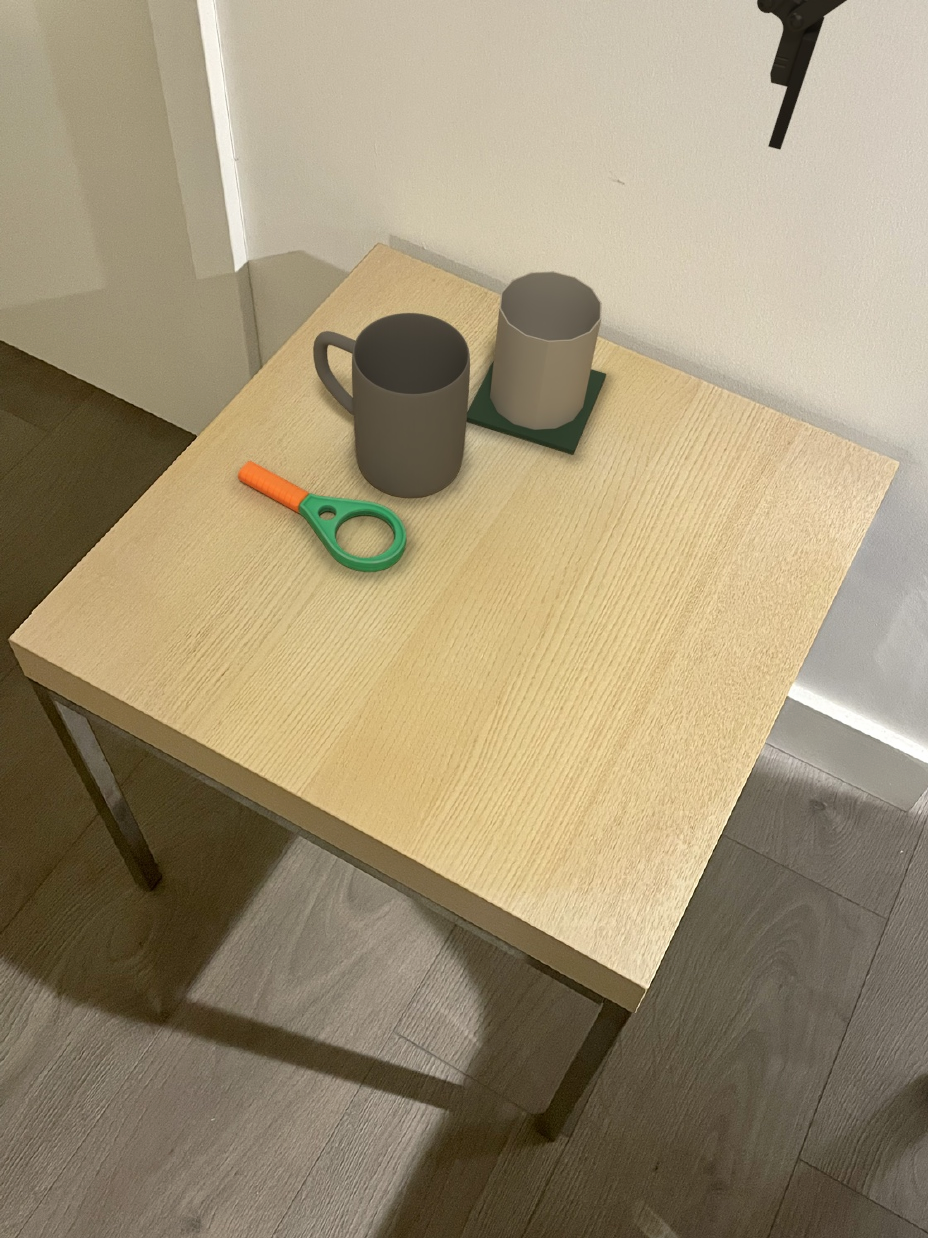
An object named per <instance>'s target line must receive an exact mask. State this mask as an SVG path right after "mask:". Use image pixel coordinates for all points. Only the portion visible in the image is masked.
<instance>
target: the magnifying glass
mask: <svg viewBox="0 0 928 1238" xmlns="http://www.w3.org/2000/svg"><path fill="white" fill-rule="evenodd" d="M237 478H238V480H239V481H240V482H242V483H243V484H245V485H247V486H248V487H251V488H253V489H254V490H256V491H258V492H260V493H262V494H264V495H266V496H268V497H269V498H270V499H272V500H275V501H276V502H278V503H280V504H282V505H284V506H286V507H287V508H289V509H291V510H292V511H293V512H296V513H299V514H300V515H301V516H302V517H303V518H304V519H305V520H306V521H307V523H308V524H309V525H310V527H311V528H312V530H313V531H314V533H315V534H316V535H317V537H318V538H319V540H320V541H321V543H322V545H324V547H325V549H326V550H327V551H328V552H329V554H330V555H331V557H333V558H334V560H335V561H337V563H339V564H341V565H342V566H344V567H347V568H349V569H351V570H353V571H354V570H355V571H358V572H364V573H365V572H366V573H367V572H368V573H371V572H379V571H384V570H387V569H388V568H392V566H394V565H396V564H397V563H398V562H399V561H400V559H402V557H403V554H404V553H405V550H406V544H407V531H406V527H405V525H404V523H403V521H402V519H401V518H400V517H399V516H398V514H396V513H395V512H394V511H393V510H392V509H390V508H389V507H387V506H385V505H383V504H381V503H378V502H374V501H369V500H361V499H354V498H353V499H352V498H342V497H334V496H327V495H318V494H314V493H312V492H311V493H310V492H309V491H306V490H305V489H303V488H301V487H299V486H298V485H296V484H294V483H293V482H290V481H288V480H287V479H284V478H283V477H281V476H279V475H277V474H276V473H274V472H271V471H270V470H268V469H267V468H265V467H263V466H261V465H259V464H257V463H256V462H254V461H252V460H248V461H247V462H245V464H244V465H243V466H241V468H240V469H239V471H238V473H237ZM325 512H330V513H333V514H334V515H335V516H334V517H333V518H331V519H324V518H322V517H321V514H323V513H325ZM358 516H372V517H376V518H378V519H380V520H382V521H384V522H386V523H387V524H388V525H389V527H390V528H391V531H392V532H393V542H392V544H391V545H390V547H389V548H388V549H387V550H385V551H384V552H383V553H381V554H378V555H375V556H370V557H361V556H356V555H353V554H350V553H348V552H346V551H345V550H344V549H343V548H341V546H340V545H339V544H338V541H337V538H336V535H337V531H338V529H339V527H340V526H341V525H342V524H343V523H344V522H345V521H347V520H349V519H351V518H354V517H358Z"/></svg>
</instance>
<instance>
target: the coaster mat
mask: <svg viewBox="0 0 928 1238" xmlns="http://www.w3.org/2000/svg"><path fill="white" fill-rule="evenodd" d="M493 363H494V359H493V360H492V362H491V364H490V366H489V368H488V370H487V372H486V374H485V376H484V378H483V380H482V382H481V383H480V386H479V388H478V390H477V392H476V393H475V396H474V397H473V400H472V401H471V403H470V406H468V411H467V422H466V423H469V424H473V425H475V426H479V427H483V428H484V429H489V430H492V431H495V432H498V433H501V434H504V435H508V436H511V437H514V438H518V439H521V440H523V441H528V442H530V443H533V444H537V445H540V446H543V447H546V448H550V449H552V450H556V451H560V452H563V453H566V454H570V455H572V456H573V455H574V454H575V452H576V450H577V448H578V445H579V442H580V441H581V438H582V436H583V433H584V430H585V428H586V426H587V424H588V421H589V419H590V417H591V414H592V411H593V409H594V407H595V404H596V402H597V400H598V397H599V394H600V393H601V390H602V387H603V385H604V383H605V381H606V377H607V373H605V372H602V371H599V370H596V369H592V368H591V371H590V376H589V380H588V385H587V390H586V395H585V400H584V405H583V408H582V409H581V410H580V412H579V413H578V414H577V416H576V417H575V418H574V420H573V421H571V422H568V423H566V424H564V425H562V426H560V427H558V428H555V429H539V430H533V429H530V428H526V427H523V426H519V425H515V424H513V423H512V422H510V421H509V420H507V419H506V418H505V417H503V416H502V415H501V414H499V413H498V412H497V410H496V408H495V406H494V404H493V402H492V400H491V399H490V392H491V383H492V373H493Z"/></svg>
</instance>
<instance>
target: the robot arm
mask: <svg viewBox="0 0 928 1238" xmlns="http://www.w3.org/2000/svg"><path fill="white" fill-rule="evenodd" d="M847 1H848V0H756V5H757V9H759V11H760V12H762V13H764V14H772V15H774V16H775V17H776V18H777V19H779V20H780V22H781V25H782V33H781V37H780V40H779V42H778V46H777V50H776V53H775V57H774V59H773V60H774V61H773V62H772V66H771V69H770V73H769V75H770V83H771V84H775V85H779V86H782V87H786V89H785V93H784V95H783V99H782V101H781V105H780V108H779V111H778V114H777V117H776V120H775V124H774V126H773V130H772V132H771V136H770V139H769V142H768V146H767V147H768V148H772V149H776V150H779V151H781V149H782V147H783V144H784V142H785V138H786V135H787V133H788V129H789V127H790V123H791V120H792V117H793V115H794V111H795V108H796V105H797V102H798V99H799V96H800V94H801V89H802V87H803V84H804V81H805V77H806V74H807V71H808V69H809V66H810V63H811V59H812V57H813V53H814V51H815V48H816V45H817V42H818V39H819V36H820V33H821V29H822V26H823V23H824V20H825V17H826V15H828V14H829V13H831V12H832V11H834V10H836V9H837V8H838V7H839V6H841V5H842V4H844V3H845V2H847Z"/></svg>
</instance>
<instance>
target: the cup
mask: <svg viewBox="0 0 928 1238" xmlns="http://www.w3.org/2000/svg"><path fill="white" fill-rule="evenodd" d="M602 306H603V303H602V301H601V300H600V298H599V296H598V295H597V293H596V291H595V290H594V288H593V287H592V286H590V285H588V284H587V283H585V282H584V281H582V280H581V279H579V278H578V277H576V276H573V275H570V274H566V273H561V272H557V271H531V272H527V273H525V274H524V275H520V276H518V277H516V278H513V279H512V280H511V281H510V282H509V283H507V285H506V286H505V287H504V288H503V290H501V291H500V298H499V308H498V317H497V318H498V319H497V325H496V336H495V346H494V356H493V360H494V363H493V373H492V383H491V392H490V399H491V400H492V402H493V404H494V406H495V408H496V410H497V412H498V413H499V414H501V415H502V416H503V417H505V418H506V419H507V420H509V421H510V422H512V423H513V424H515V425H519V426H523V427H526V428H530V429H533V430H539V429H555V428H558V427H560V426H562V425H564V424H566V423H568V422H571V421H573V420H574V418H575V417H576V416H577V414H578V413H579V412H580V410H581V409H582V408H583V405H584V400H585V395H586V390H587V385H588V380H589V376H590V371H591V369H592V366H593V361H594V356H595V351H596V347H597V346H596V345H597V343H598V342H597V341H598V337H599V332H600V329H601V328H600V327H601V323H602V313H603V312H602V311H603V309H602V308H603V307H602Z"/></svg>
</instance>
